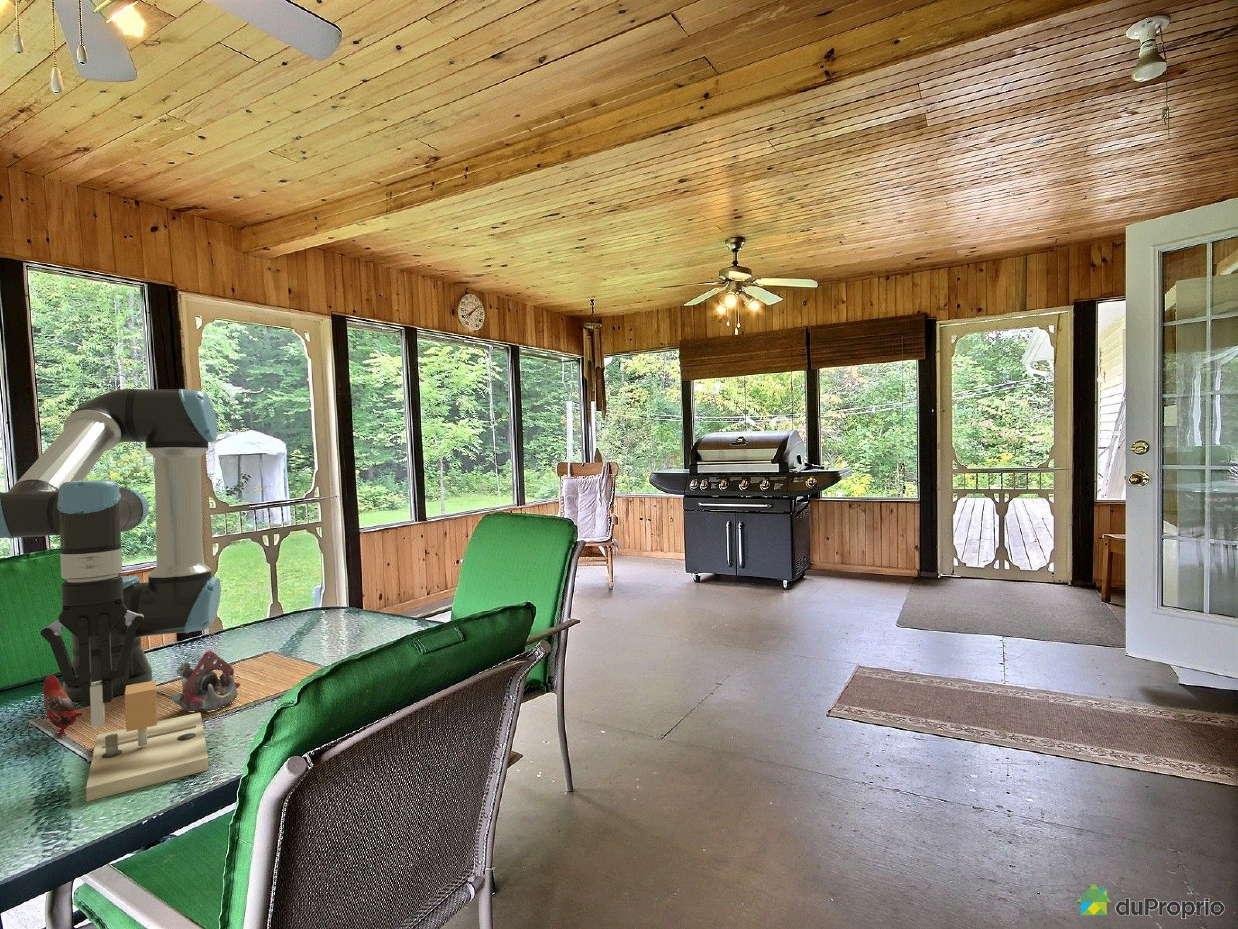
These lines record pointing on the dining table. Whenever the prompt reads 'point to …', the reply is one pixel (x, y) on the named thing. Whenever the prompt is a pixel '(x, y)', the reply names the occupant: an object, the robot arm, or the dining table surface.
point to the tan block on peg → (141, 708)
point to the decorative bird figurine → (58, 704)
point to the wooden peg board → (147, 756)
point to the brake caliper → (206, 685)
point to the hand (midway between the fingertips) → (98, 723)
